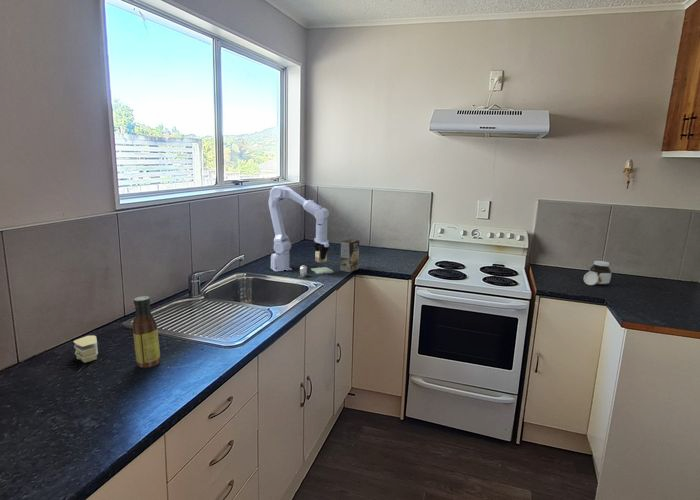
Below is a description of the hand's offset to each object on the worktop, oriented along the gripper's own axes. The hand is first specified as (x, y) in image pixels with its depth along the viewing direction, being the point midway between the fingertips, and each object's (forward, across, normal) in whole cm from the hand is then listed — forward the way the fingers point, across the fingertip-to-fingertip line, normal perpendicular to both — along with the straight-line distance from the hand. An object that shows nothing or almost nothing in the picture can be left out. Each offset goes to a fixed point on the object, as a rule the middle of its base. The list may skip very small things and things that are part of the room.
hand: (320, 258), depth 223 cm
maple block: (+2, 0, 0) cm, 2 cm away
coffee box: (+9, +2, -18) cm, 20 cm away
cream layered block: (+9, -60, +101) cm, 118 cm away
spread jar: (+8, -68, -126) cm, 143 cm away
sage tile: (+8, +4, -3) cm, 10 cm away
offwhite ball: (+7, +6, +7) cm, 11 cm away
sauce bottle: (+9, -72, +85) cm, 112 cm away
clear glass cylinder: (+8, -2, +10) cm, 13 cm away
